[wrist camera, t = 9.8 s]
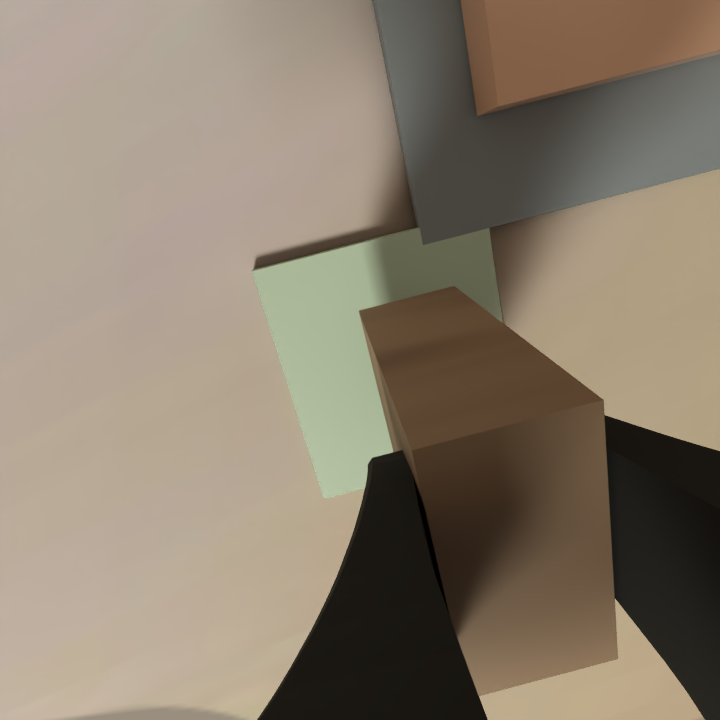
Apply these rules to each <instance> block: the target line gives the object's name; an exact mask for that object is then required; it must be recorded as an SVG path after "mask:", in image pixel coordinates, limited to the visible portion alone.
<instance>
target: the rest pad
mask: <svg viewBox="0 0 720 720" xmlns="http://www.w3.org/2000/svg"><path fill="white" fill-rule="evenodd" d="M252 274H253V277H254V280H255V284H256V287H257V290H258V293H259V296H260V299H261V303H262V306H263V309H264V312H265V315H266V318H267V321H268V325H269V328H270V331H271V334H272V337H273V340H274V344H275V347H276V350H277V353H278V356H279V359H280V363H281V366H282V369H283V372H284V375H285V378H286V382H287V385H288V388H289V391H290V394H291V397H292V400H293V404H294V407H295V410H296V413H297V416H298V419H299V423H300V426H301V429H302V432H303V435H304V438H305V442H306V445H307V448H308V451H309V454H310V457H311V461H312V464H313V467H314V470H315V473H316V476H317V480H318V483H319V486H320V489H321V492H322V495H323V498H324V499H326V498H330V497H334V496H337V495H341V494H345V493H349V492H353V491H356V490H360V489H364V488H365V486H366V480H367V472H368V463H369V462H370V460H371V459H372V458H373V457H377V456H381V455H385V454H389V453H392V452H393V448H392V444H391V440H390V436H389V432H388V428H387V424H386V420H385V416H384V412H383V408H382V404H381V400H380V395H379V391H378V387H377V383H376V379H375V375H374V371H373V367H372V363H371V359H370V355H369V351H368V347H367V343H366V339H365V335H364V331H363V327H362V323H361V319H360V315H359V310H363V309H367V308H371V307H375V306H378V305H382V304H386V303H390V302H394V301H398V300H402V299H405V298H409V297H413V296H417V295H421V294H425V293H429V292H432V291H436V290H440V289H444V288H448V287H452V286H455V287H456V288H458V289H459V290H460V291H462V292H463V293H464V294H465V295H467V296H468V297H469V298H471V299H472V300H473V301H475V302H476V303H477V304H479V305H480V306H481V307H482V308H484V309H485V310H486V311H488V312H489V313H490V314H492V315H493V316H494V317H496V318H497V319H498V320H499V321H501V322H502V323H503V320H502V313H501V306H500V299H499V292H498V286H497V279H496V272H495V265H494V259H493V252H492V245H491V238H490V231H489V228H488V229H484V230H480V231H476V232H472V233H468V234H465V235H461V236H457V237H453V238H449V239H445V240H441V241H437V242H434V243H430V244H426V245H423V243H422V238H421V233H420V228H418V227H416V228H412V229H408V230H404V231H400V232H396V233H392V234H388V235H385V236H381V237H377V238H373V239H369V240H365V241H361V242H357V243H354V244H350V245H346V246H342V247H338V248H334V249H330V250H326V251H322V252H319V253H315V254H311V255H307V256H303V257H299V258H295V259H291V260H288V261H284V262H280V263H276V264H272V265H268V266H264V267H260V268H257V269H253V270H252Z"/></svg>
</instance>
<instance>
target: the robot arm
mask: <svg viewBox="0 0 720 720" xmlns="http://www.w3.org/2000/svg"><path fill="white" fill-rule="evenodd" d="M604 418H605V436H606V453H607V471H608V489H609V507H610V525H611V543H612V561H613V579H614V596H615V599H616V600H617V601H618V602H619V604H620V605H621V606H622V607H623V609H624V610H625V611H626V613H627V614H628V615H629V616H630V618H631V619H632V620H633V621H634V623H635V624H636V625H637V627H638V628H639V629H640V630H641V632H642V633H643V634H644V635H645V637H646V638H647V639H648V641H649V642H650V643H651V644H652V646H653V647H654V648H655V649H656V651H657V652H658V653H659V655H660V656H661V657H662V658H663V660H664V661H665V662H666V664H667V665H668V666H669V668H670V669H671V671H672V672H673V673H674V675H675V676H676V677H677V679H678V680H679V682H680V683H681V684H682V686H683V687H684V688H685V690H686V691H687V693H688V694H689V696H690V697H691V699H692V700H693V702H694V703H695V705H696V706H697V708H698V709H699V711H700V712H701V714H702V715H703V717H704V719H705V720H720V451H717V450H713V449H710V448H707V447H703V446H700V445H696V444H693V443H690V442H686V441H683V440H680V439H677V438H673V437H670V436H667V435H664V434H661V433H657V432H654V431H651V430H648V429H645V428H642V427H639V426H636V425H633V424H630V423H627V422H624V421H621V420H618V419H614V418H611V417H608V416H605V415H604ZM257 720H487V717H486V714H485V712H484V709H483V706H482V704H481V701H480V698H479V696H478V693H477V690H476V687H475V685H474V682H473V679H472V677H471V674H470V671H469V668H468V666H467V663H466V660H465V658H464V655H463V652H462V650H461V647H460V644H459V641H458V638H457V636H456V633H455V630H454V627H453V624H452V622H451V619H450V616H449V613H448V610H447V608H446V605H445V602H444V599H443V596H442V593H441V591H440V587H439V583H438V579H437V575H436V570H435V566H434V562H433V558H432V554H431V549H430V545H429V541H428V537H427V533H426V528H425V524H424V520H423V516H422V512H421V507H420V503H419V499H418V495H417V491H416V486H415V482H414V478H413V474H412V471H411V469H410V466H409V464H408V462H407V459H406V457H405V455H404V453H403V451H402V450H400V451H396V452H392V453H389V454H385V455H381V456H377V457H373V458H372V459H371V460H370V462H369V463H368V472H367V480H366V486H365V491H364V495H363V500H362V504H361V507H360V511H359V514H358V518H357V521H356V525H355V528H354V532H353V535H352V538H351V540H350V543H349V546H348V548H347V551H346V554H345V556H344V559H343V562H342V564H341V567H340V570H339V572H338V575H337V577H336V579H335V582H334V584H333V586H332V589H331V591H330V593H329V595H328V597H327V600H326V602H325V604H324V606H323V608H322V610H321V612H320V614H319V616H318V618H317V620H316V622H315V624H314V626H313V628H312V630H311V632H310V633H309V635H308V637H307V639H306V641H305V642H304V644H303V646H302V648H301V650H300V651H299V653H298V655H297V657H296V659H295V660H294V662H293V664H292V666H291V668H290V669H289V671H288V673H287V674H286V676H285V678H284V679H283V681H282V683H281V684H280V686H279V688H278V689H277V691H276V692H275V694H274V696H273V697H272V699H271V700H270V702H269V703H268V705H267V706H266V708H265V709H264V711H263V712H262V713H261V715H260V716H259V718H258V719H257Z"/></svg>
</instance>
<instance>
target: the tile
mask: <svg viewBox="0 0 720 720" xmlns="http://www.w3.org/2000/svg"><path fill="white" fill-rule="evenodd" d="M461 7H462V14H463V21H464V28H465V35H466V42H467V49H468V56H469V63H470V70H471V76H472V83H473V90H474V97H475V104H476V111H477V116H480V115H484V114H488V113H492V112H496V111H500V110H504V109H508V108H511V107H515V106H519V105H523V104H527V103H531V102H535V101H539V100H543V99H547V98H550V97H554V96H558V95H562V94H566V93H570V92H574V91H578V90H582V89H586V88H589V87H593V86H597V85H601V84H605V83H609V82H613V81H617V80H621V79H625V78H628V77H632V76H636V75H640V74H644V73H648V72H652V71H656V70H660V69H664V68H667V67H671V66H675V65H679V64H683V63H687V62H691V61H695V60H699V59H703V58H706V57H710V56H714V55H718V54H720V0H461Z"/></svg>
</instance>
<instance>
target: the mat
mask: <svg viewBox="0 0 720 720" xmlns="http://www.w3.org/2000/svg"><path fill="white" fill-rule="evenodd" d="M372 1H373V6H374V11H375V16H376V21H377V26H378V31H379V37H380V42H381V47H382V52H383V57H384V62H385V67H386V72H387V77H388V83H389V88H390V93H391V98H392V103H393V108H394V113H395V118H396V123H397V129H398V134H399V139H400V144H401V149H402V154H403V159H404V164H405V169H406V175H407V180H408V185H409V190H410V195H411V200H412V205H413V210H414V215H415V220H416V226H417V227H418V228H420V233H421V238H422V243H423V245H426V244H430V243H434V242H437V241H441V240H445V239H449V238H453V237H457V236H461V235H465V234H468V233H472V232H476V231H480V230H484V229H488V228H492V227H495V226H499V225H503V224H507V223H511V222H515V221H519V220H523V219H526V218H530V217H534V216H538V215H542V214H546V213H550V212H554V211H557V210H561V209H565V208H569V207H573V206H577V205H581V204H585V203H588V202H592V201H596V200H600V199H604V198H608V197H612V196H616V195H619V194H623V193H627V192H631V191H635V190H639V189H643V188H647V187H650V186H654V185H658V184H662V183H666V182H670V181H674V180H677V179H681V178H685V177H689V176H693V175H697V174H701V173H705V172H708V171H712V170H716V169H720V54H718V55H714V56H710V57H706V58H703V59H699V60H695V61H691V62H687V63H683V64H679V65H675V66H671V67H667V68H664V69H660V70H656V71H652V72H648V73H644V74H640V75H636V76H632V77H628V78H625V79H621V80H617V81H613V82H609V83H605V84H601V85H597V86H593V87H589V88H586V89H582V90H578V91H574V92H570V93H566V94H562V95H558V96H554V97H550V98H547V99H543V100H539V101H535V102H531V103H527V104H523V105H519V106H515V107H511V108H508V109H504V110H500V111H496V112H492V113H488V114H484V115H480V116H477V111H476V104H475V97H474V90H473V83H472V76H471V70H470V63H469V56H468V49H467V42H466V35H465V28H464V21H463V14H462V7H461V0H372Z"/></svg>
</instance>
